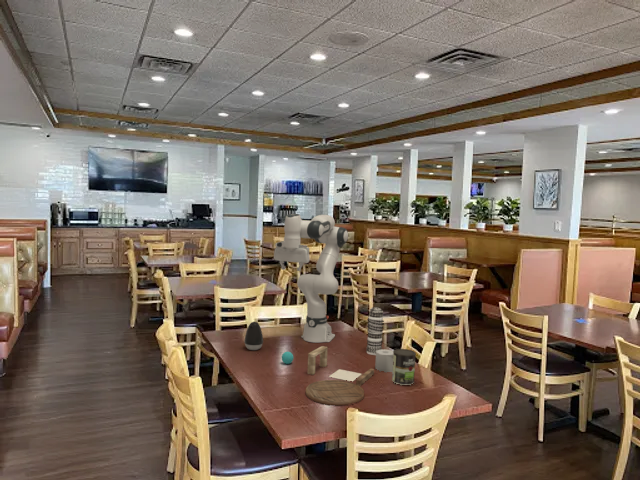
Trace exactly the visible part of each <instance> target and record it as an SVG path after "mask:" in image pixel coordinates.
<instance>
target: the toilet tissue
mask: <svg viewBox="0 0 640 480" xmlns="http://www.w3.org/2000/svg"><path fill="white" fill-rule="evenodd" d="M393 351H394V350H391V349H385V348H384V349H383V348H382V349H381V350H377V351H376V355H375V365H374V367H375V370H376V369H377V370H376V371H378V370H379V371H378V372H381V371H384V372H383V373H387V372H392V373H393V354H394V353H393ZM392 373H391V374H392Z"/></svg>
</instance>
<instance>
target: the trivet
mask: <svg viewBox="0 0 640 480" xmlns="http://www.w3.org/2000/svg"><path fill="white" fill-rule="evenodd" d="M305 395H306V397H307V398H308V399H309V400H310V399H311V400H310V401H312V400H313V402H314V403H317V404H320V405H324V404H325V405H324V406H330V405H335V406H334V407H343V406H342V405H347V406H349V405H348V404H352V403H356V402H358V403H360V402H362V401H363V400H362V399H364V398H365V391H364V389H363V387H362V386H358V385H356V383H353V382H350V381H346V380H341V379H326V380H325V379H324V380H318V381H315V382H312V383H310V384H308V385H307V386H306V388H305ZM361 400H362V401H361ZM359 401H360V402H359ZM356 404H357V403H356ZM352 405H353V404H352Z"/></svg>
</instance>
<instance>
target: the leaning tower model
mask: <svg viewBox="0 0 640 480" xmlns="http://www.w3.org/2000/svg"><path fill="white" fill-rule="evenodd" d="M368 312H369V313H368V318H367V319H366V321H367V323H366V324H367V325H366V327H367V330H366V331H367V339H366V344H367V345H366V353H367V354H368V355H372V356H376V351H377V350H381V349H383V332H384V327H383V326H384V325H385V324H384V322H385V321H384V315H383V314H384V310H383V309H382V308H381V307H377V306H374V307H373V306H372V307H371V308H370V309H368Z"/></svg>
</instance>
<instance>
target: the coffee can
mask: <svg viewBox="0 0 640 480" xmlns="http://www.w3.org/2000/svg"><path fill="white" fill-rule="evenodd" d="M392 351H393V353H394V354H393V373H391V374H392V377H391V381H393V382H394V383H393V382H392V383H393V384H395V383H396V384H395V385H397V384H400V385H399V386H402V385H410V386H412V385H411V384H413V383H414V384H415V371H416V369H415V368H416V355H417V352H415V351H414V350H411V349H405V348H397V349H394V350H392ZM414 384H413V385H414Z"/></svg>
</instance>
